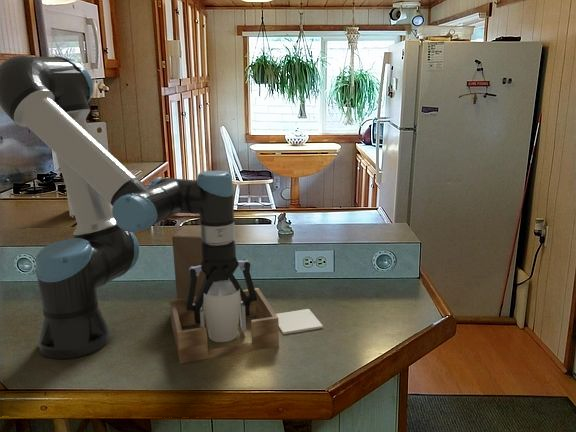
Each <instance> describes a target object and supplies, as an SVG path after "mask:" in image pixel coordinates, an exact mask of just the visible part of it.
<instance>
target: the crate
mask: <svg viewBox="0 0 576 432" xmlns="http://www.w3.org/2000/svg"><path fill="white" fill-rule="evenodd" d="M254 289H255V293H256V296H257V300H256V301H252V302H250V305H249V311H250V315H249V316H247V317H254V316H256V319H251V320H250V325H251V326H250V329H251V342H247V343H241V344H235V345H229V346H223V347H218V348H216V347H215V348H211V349H208V335H207V334H208V330H207V326H204V327H202V328H200V327H196V328H190V329H184V330H183V328H182V327H188V326H194V325H197V324H196V323H195V319H194V311H193V310H187V308H186V305H185V303H186V298H179V299H177V298H173V299H169V303H170V305H169V306H170V316H171V319H170V320H171V328H172V333H173V336H174V340H175V346H176V351H177V355H178V360H179V364H183V363H189V362H190V363H191V362H195V361H200V360H201V361H202V360H206V359H213V358H219V357H223V356H224V357H225V356H231V355H235V354H236V355H238V354H242V353H248V352H253V351H260V350H266V349H272V348H277V347H280V335H279V334H280V333H279V332H280V329H279V321H278V317H277V315H276V314H277V313H276V312H275V311H274V309H273V307H272V306H271V305H270V303H269V302H268V300H267V298H266V297H265V295H264V294H263V293H262V291H261V289H260V288H259V287H254ZM242 290H243V291H244V293H245V295H246V296H248V295H249V291H248V288H246V289H242ZM196 298H197V296H194V299H193V303H194V302H195V300H196ZM241 301H243V300H242V298H241ZM202 309H203V306H202ZM203 312H204V311H203ZM247 317H246V318H247ZM239 319H240V315H239ZM204 324H206V320H205V316H204Z"/></svg>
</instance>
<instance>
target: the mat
mask: <svg viewBox="0 0 576 432" xmlns="http://www.w3.org/2000/svg"><path fill="white" fill-rule="evenodd" d="M275 314H276V315H277V317H278V321H279V331H280V332H281V334H282V335H289V334H293V333H294V334H296V333H300V332H301V333H302V332H307V331H314V330H320V329H323V328H324V326H323V324H322V323H321V322H320V321H319V319H318V318H317V317H316V316H315V314H314V313H313V312H312V311H311V310H310V308H305V309H299V310H292V311H285V312H280V313H275Z"/></svg>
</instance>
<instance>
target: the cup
mask: <svg viewBox="0 0 576 432" xmlns="http://www.w3.org/2000/svg"><path fill="white" fill-rule="evenodd" d="M202 306H203V311H204V316H205V320H206V323H205V324H206V331H207V334H208V338H209V339H210V340H211V341H213V342H216V343H228V342H231V341H233V340H234V339H236V338H237V337H238V333H239V324H240V323H239V322H240V318H239V315H240V306H241V296H240V289H239V290H238V291H237V290H236V289H235V287H234V285H233V284H232V282H231V281H228V280H224V281H219V282H213V284H212V286H211V287H210V289H209V291H208V293H207V294H205V293H204V301H203V305H202Z"/></svg>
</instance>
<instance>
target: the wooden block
mask: <svg viewBox="0 0 576 432" xmlns="http://www.w3.org/2000/svg"><path fill="white" fill-rule="evenodd" d="M171 239H172V251H173V252H172V253H173V254H172V255H173V262H174V263H173V265H174V277H175V278H174V279H175V291H176V292H175V293H176V299H179V298H186V297H187V291H188V285H189V279H190V272H189V266H194V267H195V266H199V265H201V263H202V242H203V241H202V240H201V226H200V225H185V227H183V228H181V229H180V230H179V231H178V232H176V233H175V234H174V235H172V237H171ZM205 276H206V274H205V273H204V272H203V271H200V273H199V276H197V282H196V288H195V294H194V296H198V293H199V291H200V289H201V287H202V284H203V282H204V279H205ZM220 281H225V280H220ZM216 282H219V281H216Z"/></svg>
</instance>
